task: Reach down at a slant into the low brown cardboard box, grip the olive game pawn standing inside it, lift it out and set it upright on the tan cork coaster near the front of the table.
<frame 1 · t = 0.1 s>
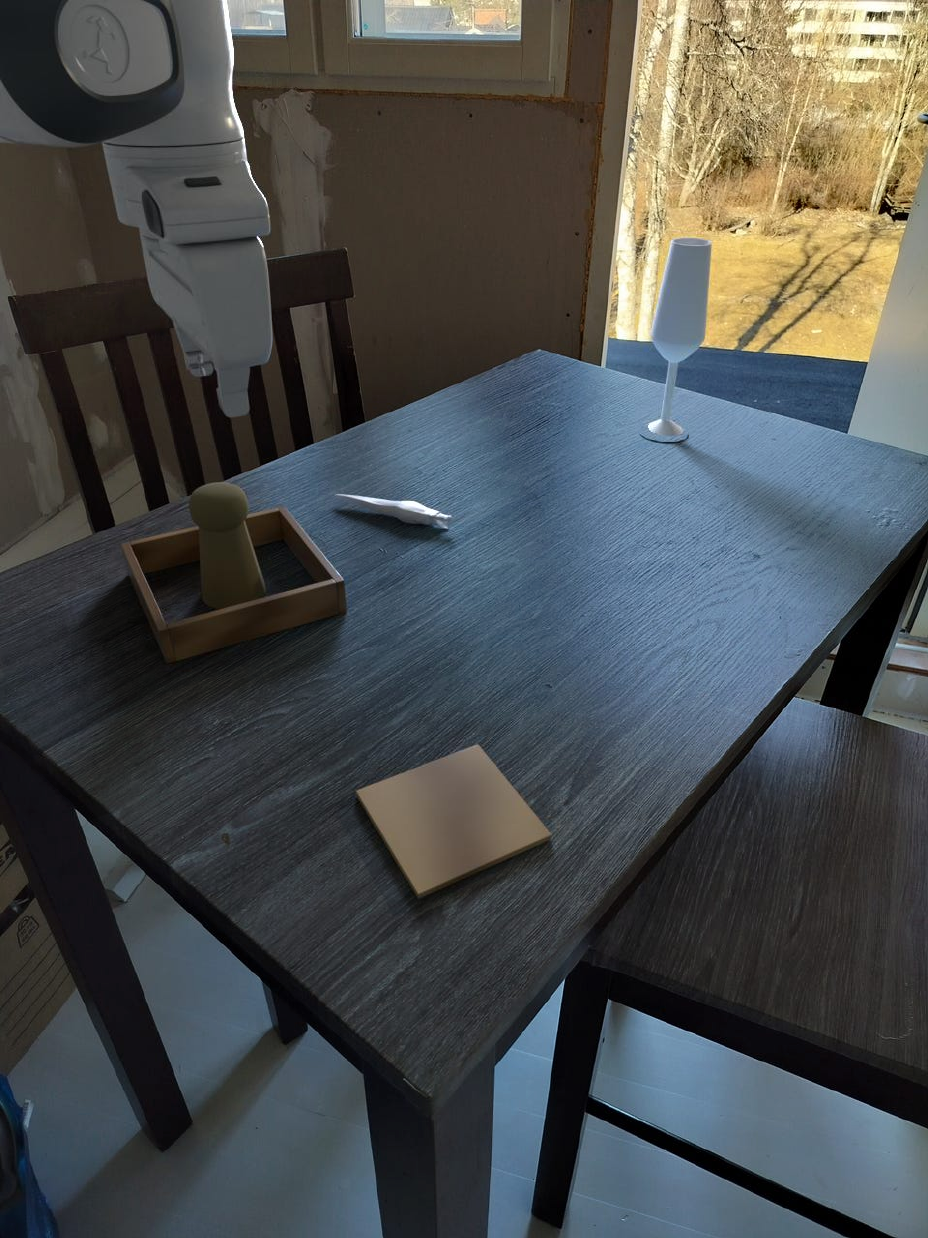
hand: (217, 392, 64), 22 cm above the table, tool pointing down, fingers open, 8 cm apart
open box: (234, 592, 82), on the table
coaster: (451, 817, 59), on the table
olive game pawn: (234, 594, 82), resting in open box
white animal figurine: (392, 517, 95), on the table
champagne flute: (663, 434, 115), on the table
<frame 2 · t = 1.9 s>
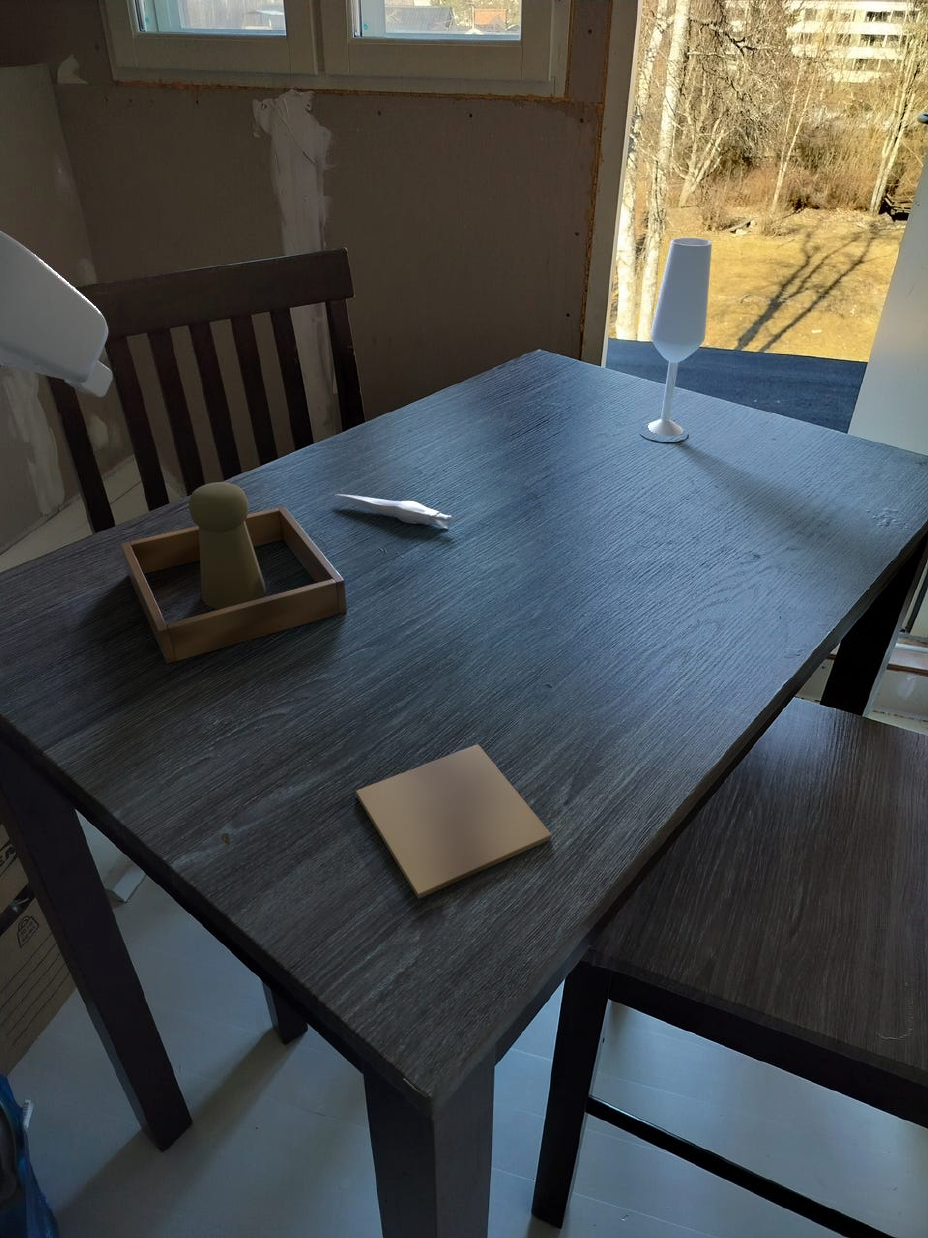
hand: (46, 371, 53), 27 cm above the table, tool tilted 45°, fingers open, 8 cm apart
nothing on the table moved.
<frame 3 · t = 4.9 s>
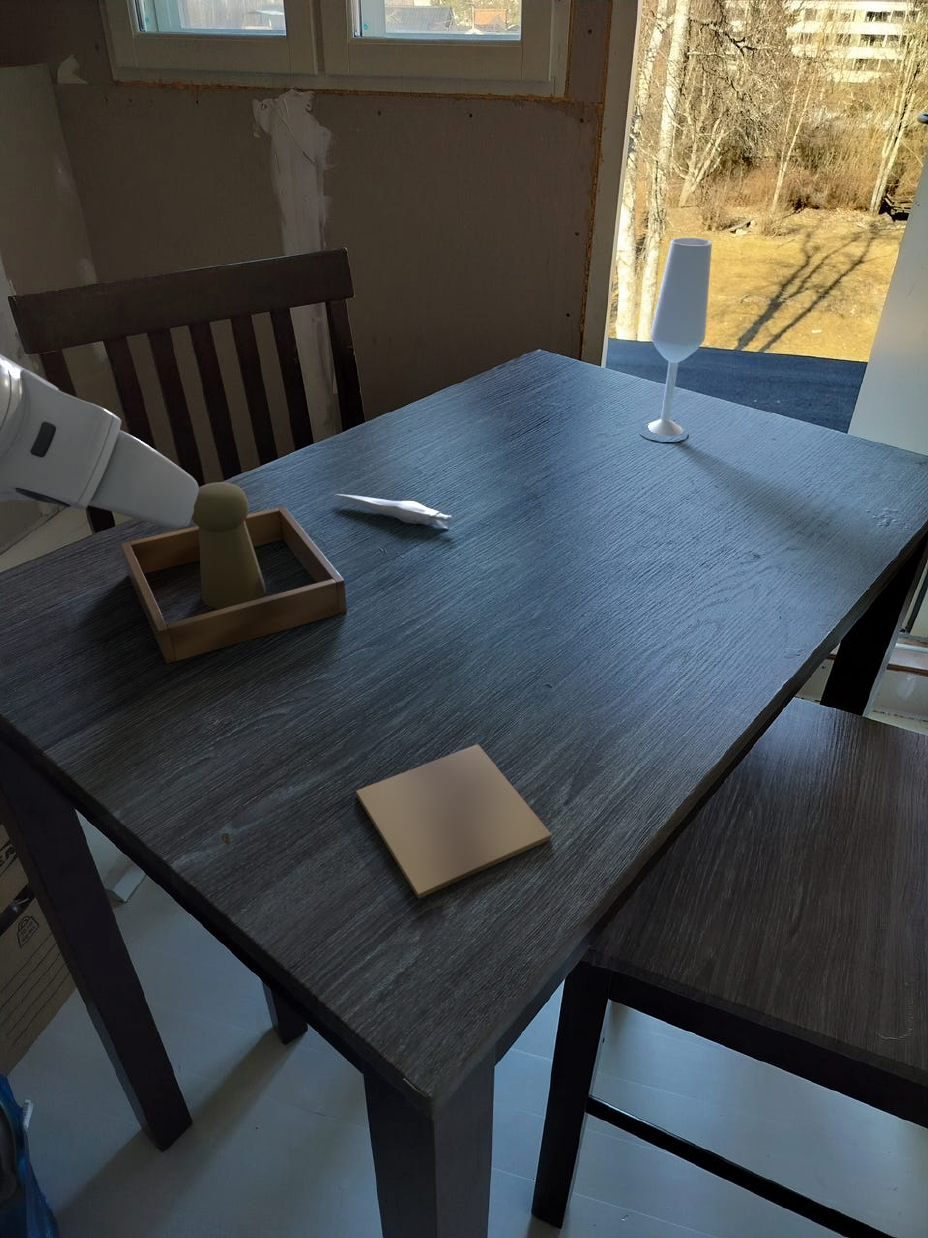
hand: (140, 502, 68), 13 cm above the table, tool tilted 45°, fingers open, 8 cm apart
nothing on the table moved.
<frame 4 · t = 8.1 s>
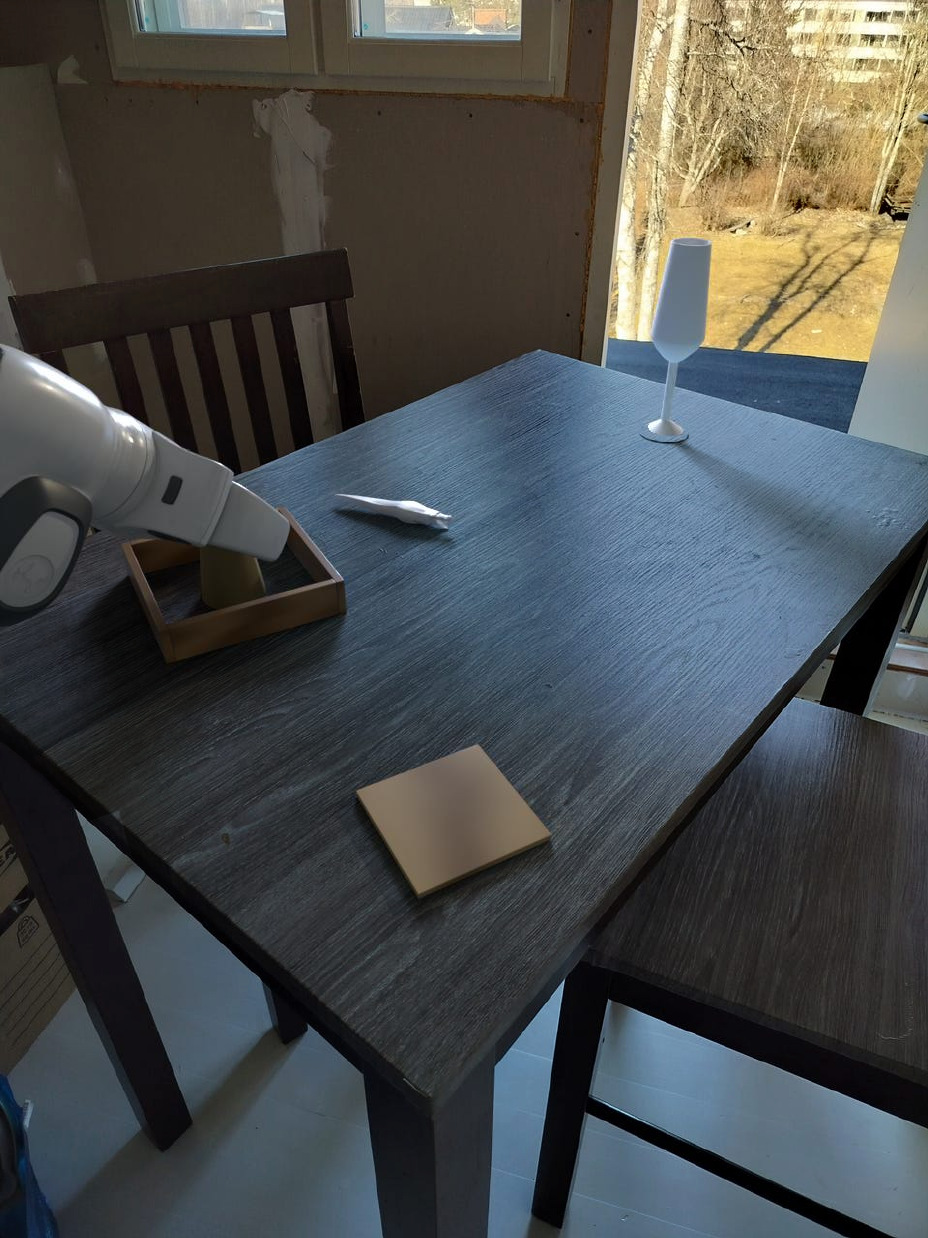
hand: (229, 534, 79), 6 cm above the table, tool tilted 45°, fingers closed on olive game pawn, 4 cm apart
olive game pawn: (234, 593, 82), resting in open box, touching gripper
everything else where it was.
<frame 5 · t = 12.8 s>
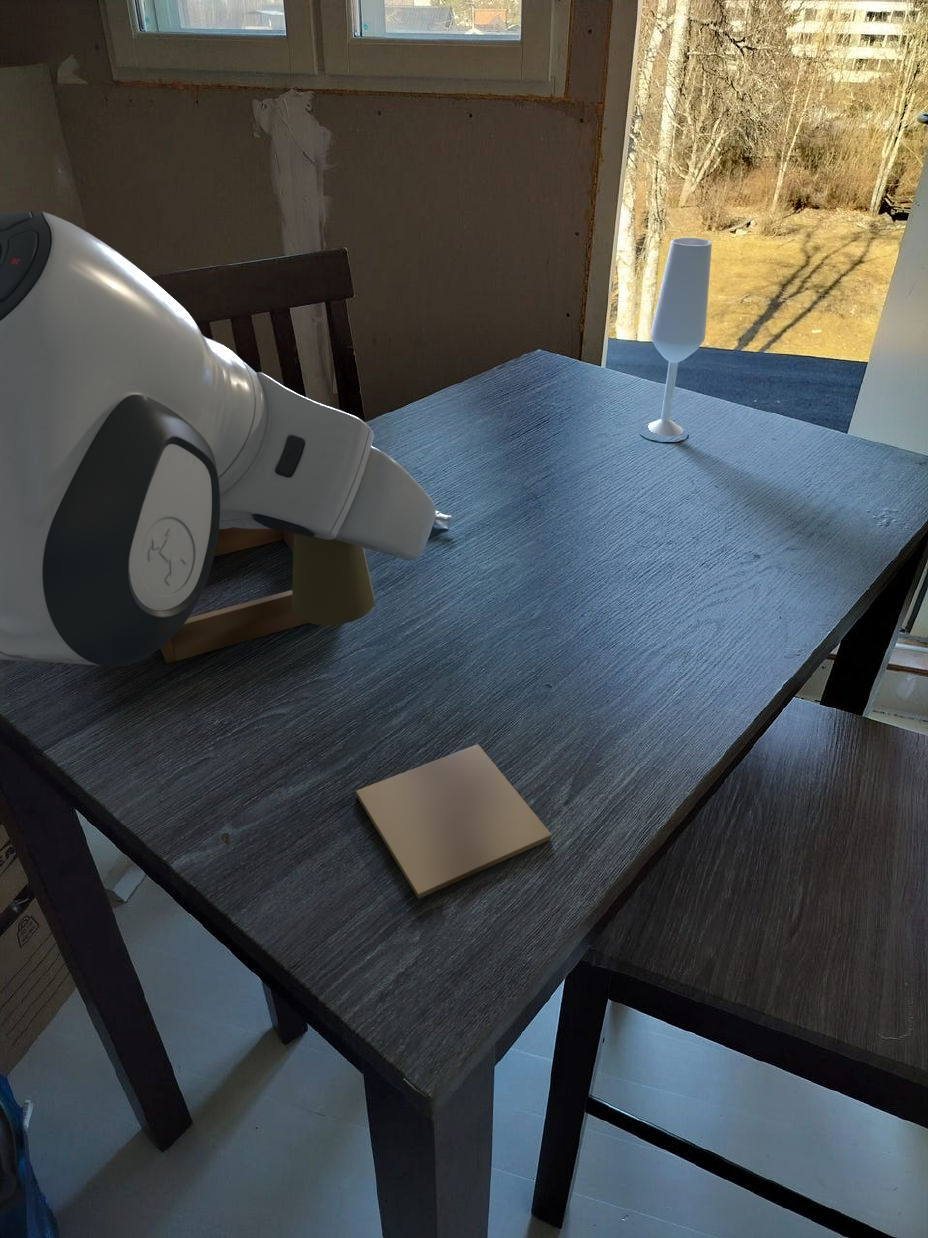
hand: (332, 526, 59), 16 cm above the table, tool tilted 45°, fingers closed on olive game pawn, 4 cm apart
olive game pawn: (333, 604, 62), point 10 cm above the table, touching gripper
everything else where it was.
when the fingers open (6 cm above the table, at t = 17.6 s): olive game pawn stays where it is, resting on coaster.
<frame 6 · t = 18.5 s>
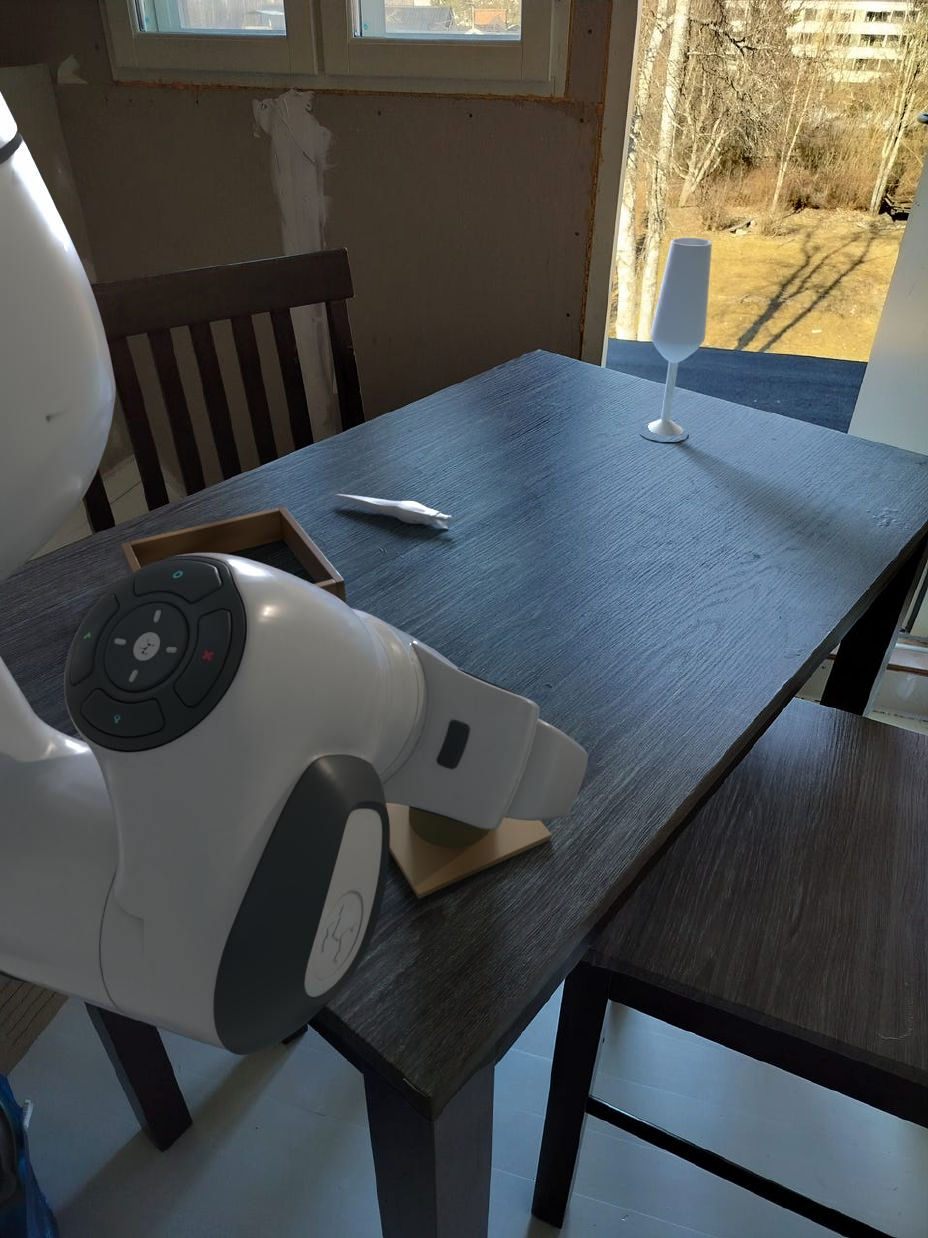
hand: (453, 735, 55), 7 cm above the table, tool tilted 45°, fingers open, 8 cm apart
olive game pawn: (452, 814, 59), resting on coaster
everything else where it was.
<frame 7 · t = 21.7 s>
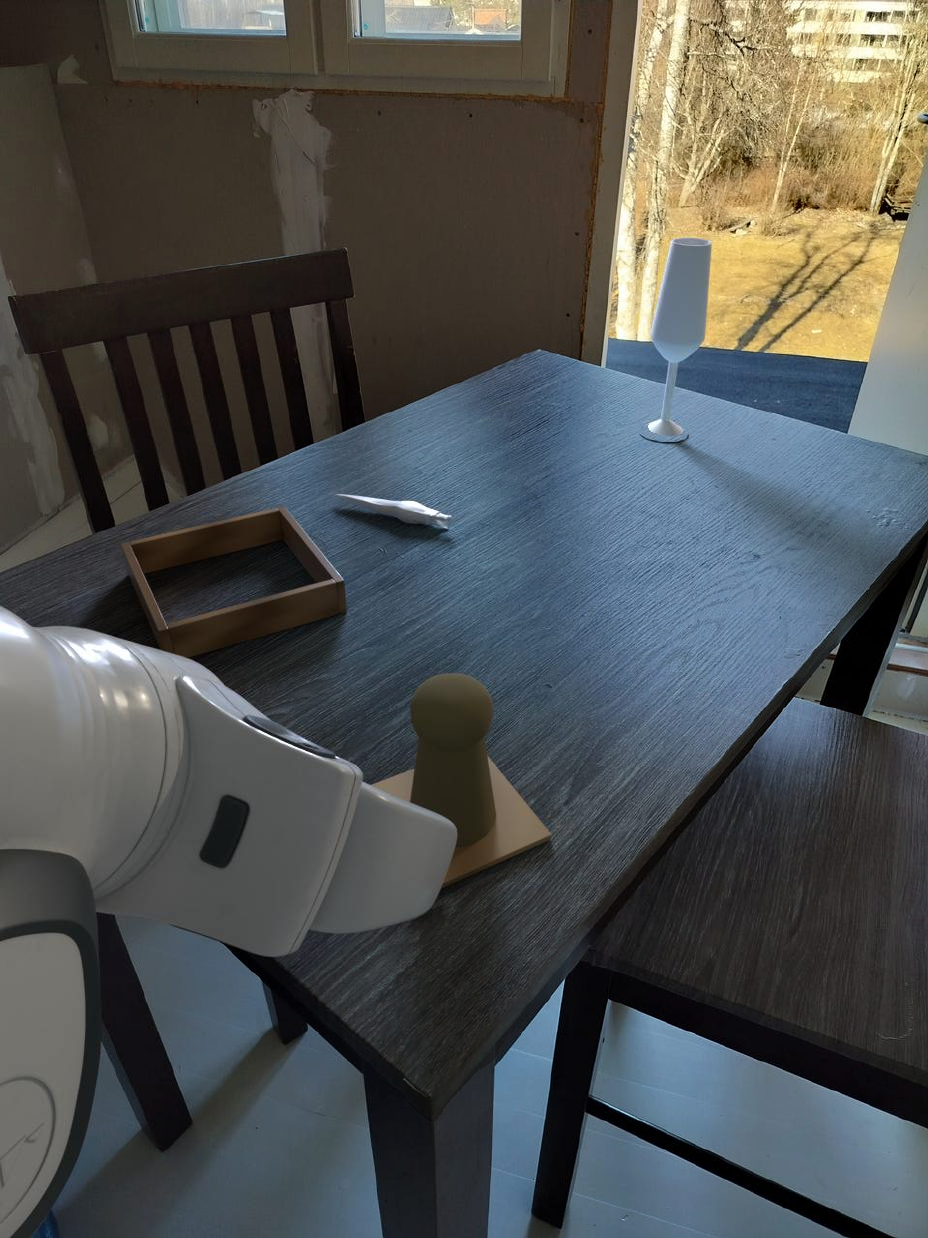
hand: (309, 786, 42), 14 cm above the table, tool tilted 45°, fingers open, 8 cm apart
nothing on the table moved.
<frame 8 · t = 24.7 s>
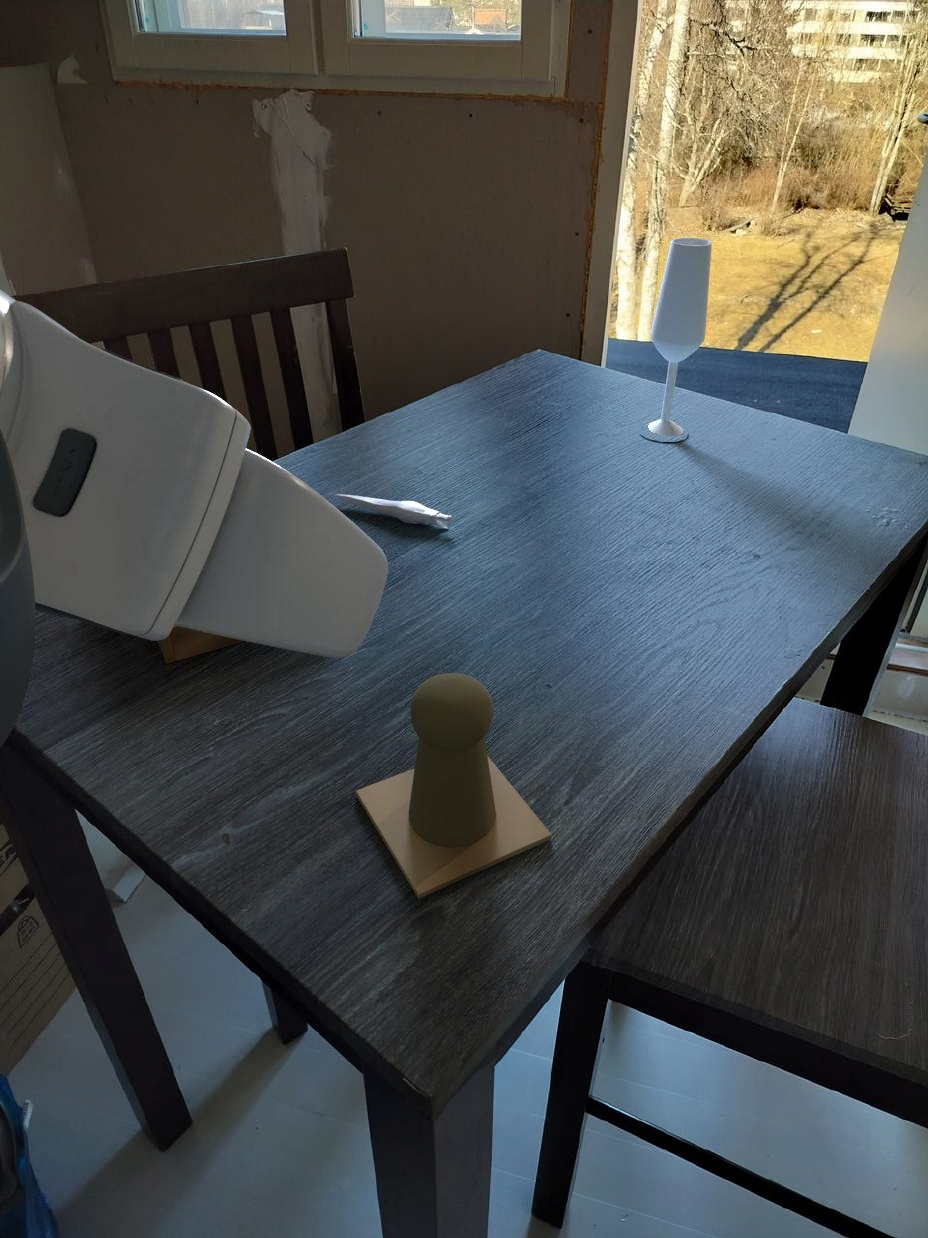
hand: (234, 576, 37), 25 cm above the table, tool tilted 45°, fingers open, 8 cm apart
nothing on the table moved.
at the end: olive game pawn inside the target area on the coaster (0.1 cm from its centre), point 0.3 cm above the coaster's base; olive game pawn tilted 0°; the gripper is holding nothing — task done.
